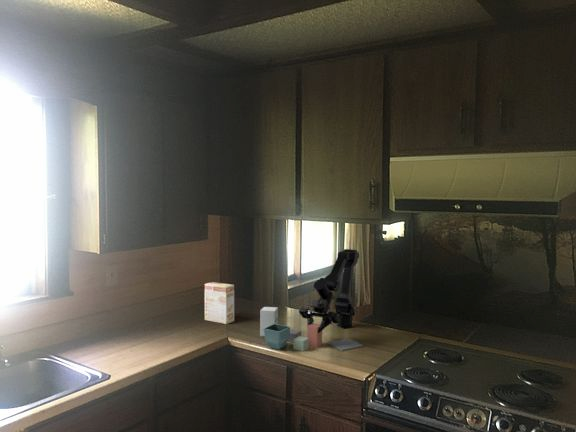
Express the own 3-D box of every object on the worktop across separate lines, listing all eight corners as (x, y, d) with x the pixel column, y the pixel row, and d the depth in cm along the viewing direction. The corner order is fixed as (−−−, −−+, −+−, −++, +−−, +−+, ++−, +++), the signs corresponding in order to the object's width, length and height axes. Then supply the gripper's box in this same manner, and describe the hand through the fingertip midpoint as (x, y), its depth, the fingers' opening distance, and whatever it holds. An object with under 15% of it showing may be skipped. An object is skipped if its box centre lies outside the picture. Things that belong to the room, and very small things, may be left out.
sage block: (298, 346, 223) (298, 336, 223) (308, 348, 221) (308, 338, 221) (293, 349, 219) (293, 339, 219) (303, 351, 217) (303, 341, 216)
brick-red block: (312, 342, 228) (312, 323, 227) (321, 344, 225) (322, 324, 225) (306, 345, 224) (307, 326, 223) (316, 347, 221) (317, 327, 220)
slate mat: (348, 339, 233) (348, 338, 233) (363, 346, 223) (363, 345, 223) (327, 343, 226) (327, 342, 226) (342, 350, 217) (342, 349, 217)
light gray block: (291, 339, 234) (291, 329, 233) (300, 340, 231) (300, 331, 231) (285, 341, 229) (285, 332, 229) (295, 343, 227) (295, 334, 226)
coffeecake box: (234, 321, 262) (234, 284, 261) (226, 324, 256) (225, 287, 255) (213, 317, 270) (212, 281, 269) (204, 320, 264) (203, 283, 263)
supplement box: (274, 337, 235) (274, 311, 235) (259, 336, 237) (259, 310, 236) (278, 332, 243) (278, 307, 242) (263, 331, 244) (263, 306, 243)
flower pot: (280, 352, 215) (280, 331, 215) (263, 348, 220) (263, 328, 219) (290, 346, 223) (290, 326, 222) (274, 342, 227) (274, 323, 227)
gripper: (300, 289, 231) (288, 318, 222) (337, 294, 222) (326, 325, 213) (308, 303, 238) (297, 331, 230) (344, 308, 229) (334, 338, 220)
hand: (313, 331), depth 223 cm, fingers closed on brick-red block, 5 cm apart
